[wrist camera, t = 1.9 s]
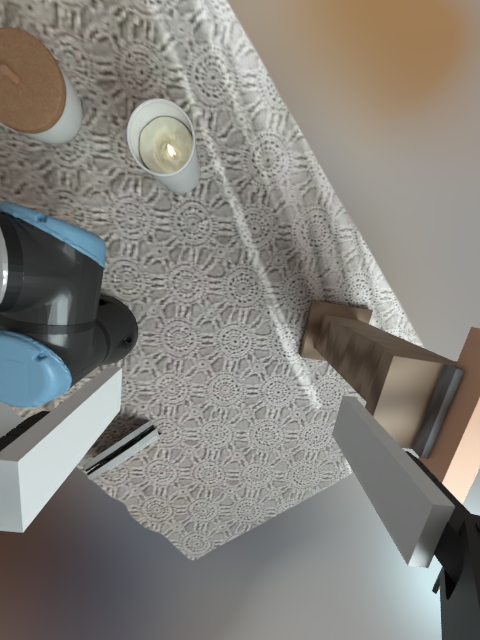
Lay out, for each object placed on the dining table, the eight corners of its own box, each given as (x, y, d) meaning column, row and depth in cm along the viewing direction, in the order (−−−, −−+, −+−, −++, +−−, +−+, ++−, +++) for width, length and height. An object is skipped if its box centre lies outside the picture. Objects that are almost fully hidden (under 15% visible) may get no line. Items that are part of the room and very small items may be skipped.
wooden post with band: (358, 363, 56) (508, 481, 25) (293, 353, 55) (366, 463, 24) (374, 310, 53) (565, 371, 22) (305, 298, 52) (407, 345, 21)
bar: (417, 524, 28) (438, 554, 25) (393, 521, 28) (411, 551, 25) (500, 332, 23) (539, 341, 20) (471, 327, 22) (506, 336, 20)
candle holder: (215, 167, 46) (208, 133, 34) (184, 209, 47) (168, 190, 35) (173, 129, 44) (152, 80, 32) (144, 174, 46) (112, 142, 34)
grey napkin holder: (113, 467, 61) (81, 493, 51) (105, 450, 61) (71, 472, 51) (164, 433, 59) (140, 454, 49) (154, 417, 59) (129, 433, 50)
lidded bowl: (48, 59, 41) (-18, -15, 30) (109, 113, 43) (68, 63, 33) (12, 122, 43) (-61, 74, 32) (73, 172, 45) (23, 142, 34)
